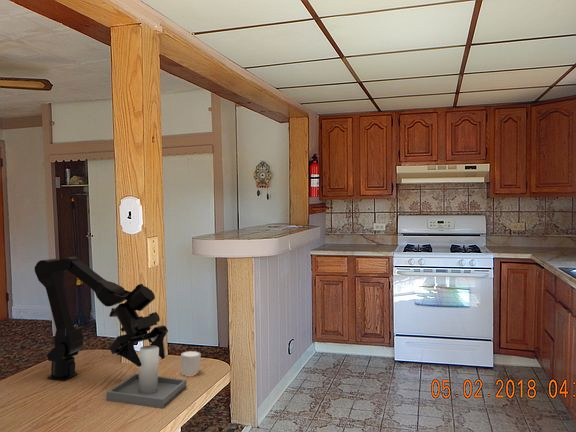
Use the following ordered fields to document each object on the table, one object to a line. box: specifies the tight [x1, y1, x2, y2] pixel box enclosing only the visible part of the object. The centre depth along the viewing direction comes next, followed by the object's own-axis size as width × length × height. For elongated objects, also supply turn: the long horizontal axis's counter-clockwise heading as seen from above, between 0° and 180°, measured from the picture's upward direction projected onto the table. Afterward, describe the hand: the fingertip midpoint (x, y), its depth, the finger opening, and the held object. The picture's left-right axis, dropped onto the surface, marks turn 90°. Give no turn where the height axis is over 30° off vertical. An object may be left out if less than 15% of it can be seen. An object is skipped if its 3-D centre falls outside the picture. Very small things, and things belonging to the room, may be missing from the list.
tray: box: [105, 373, 187, 409], centre depth 141 cm, size 18×16×2 cm
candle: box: [138, 345, 160, 394], centre depth 141 cm, size 6×6×13 cm
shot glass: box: [180, 350, 202, 376], centre depth 160 cm, size 7×7×7 cm
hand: (152, 362), depth 140 cm, fingers open, 9 cm apart
